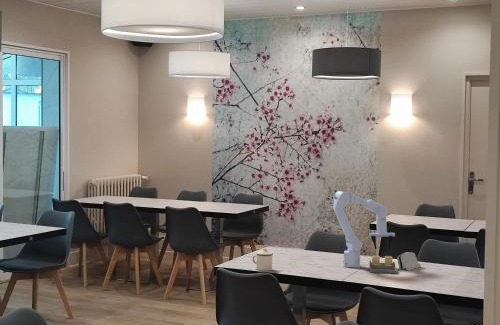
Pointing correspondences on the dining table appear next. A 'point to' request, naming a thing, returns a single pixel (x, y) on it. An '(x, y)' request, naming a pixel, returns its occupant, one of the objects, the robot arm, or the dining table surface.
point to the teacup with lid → (263, 260)
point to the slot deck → (382, 264)
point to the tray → (382, 269)
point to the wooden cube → (375, 259)
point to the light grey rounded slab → (408, 261)
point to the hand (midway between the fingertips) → (382, 249)
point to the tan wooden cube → (388, 260)
